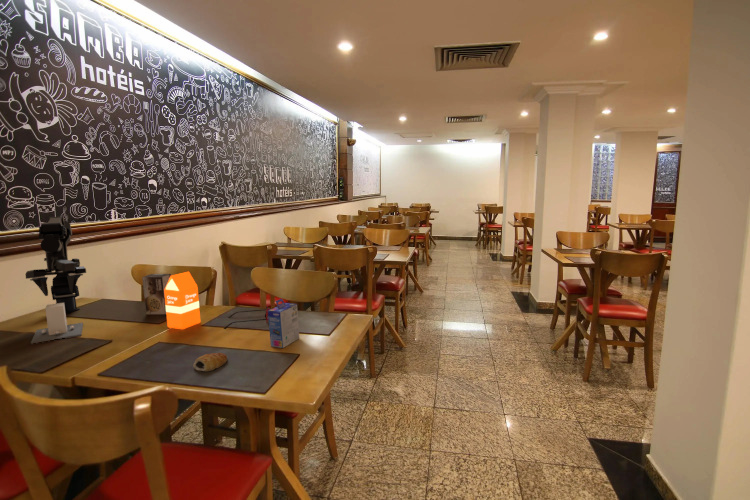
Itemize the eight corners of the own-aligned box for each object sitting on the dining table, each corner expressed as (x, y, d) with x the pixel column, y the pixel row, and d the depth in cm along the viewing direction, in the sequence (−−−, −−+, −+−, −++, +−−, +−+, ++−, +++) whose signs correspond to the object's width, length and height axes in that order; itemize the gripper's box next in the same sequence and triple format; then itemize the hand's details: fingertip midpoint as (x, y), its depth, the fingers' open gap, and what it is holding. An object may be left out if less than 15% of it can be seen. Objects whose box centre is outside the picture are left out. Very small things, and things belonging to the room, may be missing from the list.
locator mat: (37, 331, 153) (36, 329, 152) (83, 324, 160) (82, 322, 160) (30, 344, 139) (30, 342, 139) (81, 335, 147) (81, 334, 147)
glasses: (269, 325, 155) (268, 313, 155) (223, 330, 152) (222, 316, 151) (270, 315, 169) (269, 303, 168) (228, 318, 165) (227, 306, 164)
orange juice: (167, 327, 155) (162, 275, 152) (185, 320, 163) (181, 270, 160) (182, 329, 152) (178, 276, 149) (201, 322, 160) (197, 271, 157)
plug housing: (50, 331, 151) (46, 304, 149) (67, 328, 153) (64, 302, 152) (49, 335, 146) (45, 308, 145) (66, 332, 149) (62, 305, 148)
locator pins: (42, 334, 148) (41, 330, 147) (74, 328, 153) (74, 325, 152) (40, 338, 143) (39, 334, 143) (73, 332, 148) (73, 328, 148)
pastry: (217, 357, 126) (216, 346, 125) (233, 361, 123) (232, 349, 122) (191, 370, 118) (190, 357, 117) (208, 374, 115) (207, 361, 114)
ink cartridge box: (286, 336, 143) (284, 295, 141) (300, 338, 141) (298, 297, 139) (269, 346, 134) (266, 303, 132) (283, 348, 132) (281, 304, 130)
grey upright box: (175, 310, 177) (171, 273, 174) (166, 314, 170) (162, 276, 168) (155, 309, 178) (151, 273, 175) (145, 314, 171) (141, 276, 169)
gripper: (40, 252, 149) (45, 295, 148) (92, 251, 166) (97, 289, 166) (22, 256, 153) (27, 298, 153) (75, 254, 170) (79, 291, 170)
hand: (59, 294), depth 160 cm, fingers open, 9 cm apart
